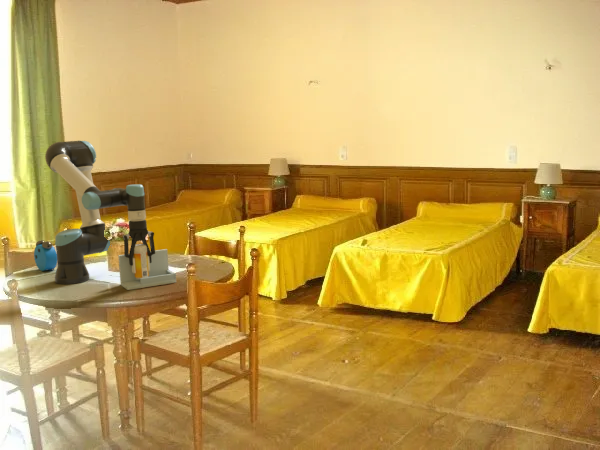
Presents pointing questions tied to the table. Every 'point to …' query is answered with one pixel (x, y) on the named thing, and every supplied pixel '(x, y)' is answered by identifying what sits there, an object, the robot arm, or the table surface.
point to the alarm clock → (45, 255)
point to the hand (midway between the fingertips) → (141, 271)
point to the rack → (157, 272)
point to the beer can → (141, 261)
